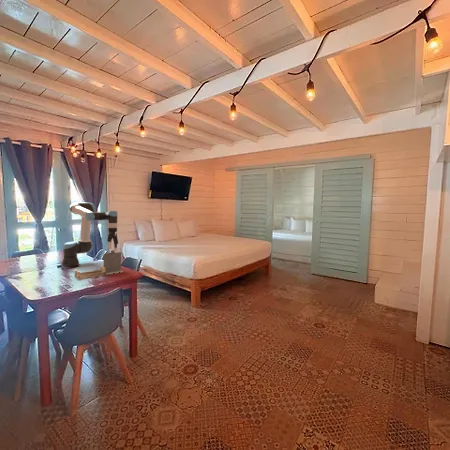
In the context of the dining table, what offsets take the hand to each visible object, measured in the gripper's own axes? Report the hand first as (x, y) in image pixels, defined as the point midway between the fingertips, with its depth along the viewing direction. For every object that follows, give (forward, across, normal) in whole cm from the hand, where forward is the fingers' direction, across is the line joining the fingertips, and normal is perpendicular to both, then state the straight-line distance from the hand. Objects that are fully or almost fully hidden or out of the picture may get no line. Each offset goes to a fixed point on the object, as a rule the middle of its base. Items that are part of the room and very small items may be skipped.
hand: (112, 249), depth 224 cm
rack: (+21, +1, -19) cm, 28 cm away
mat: (+21, +1, 0) cm, 21 cm away
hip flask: (+21, +1, 0) cm, 21 cm away
